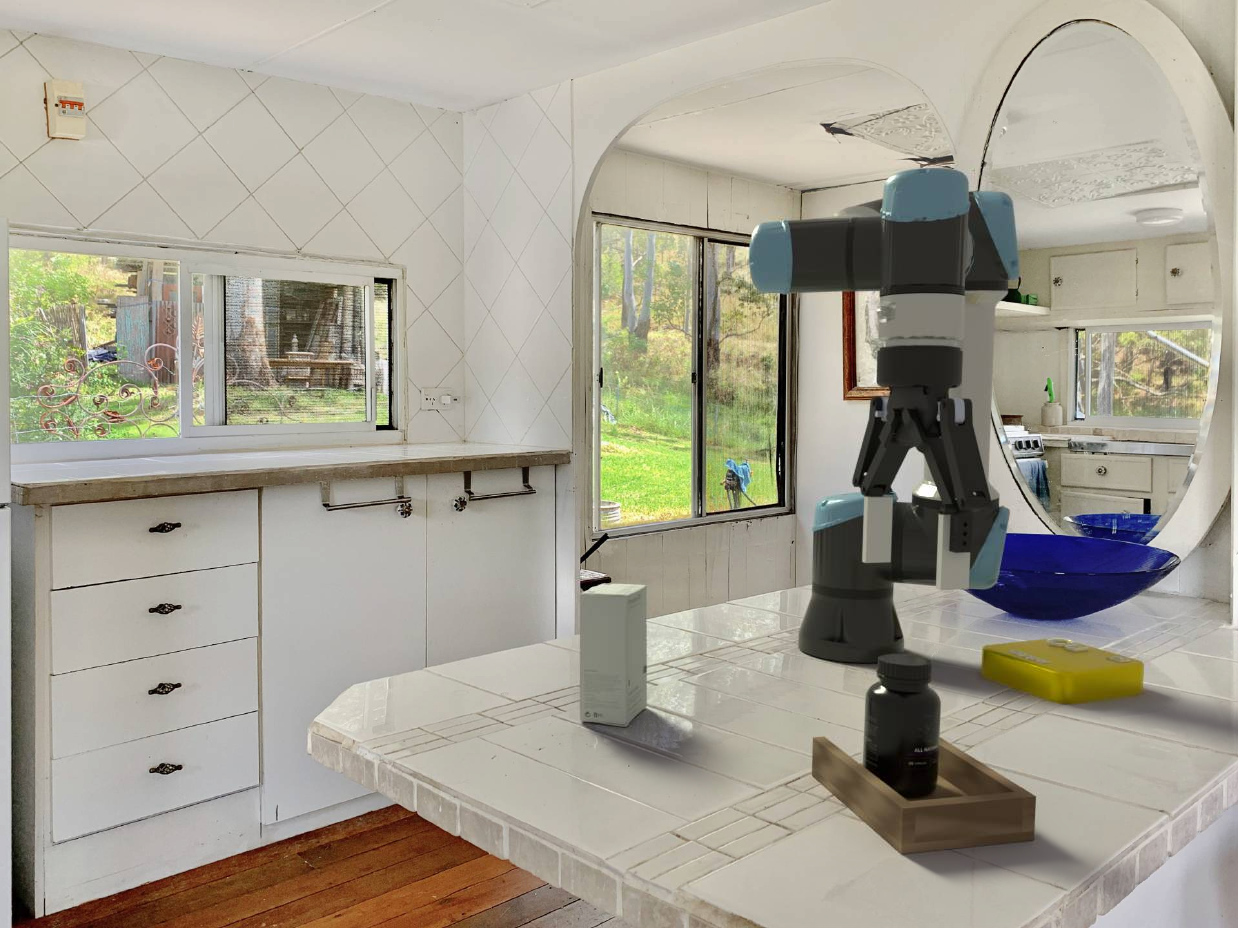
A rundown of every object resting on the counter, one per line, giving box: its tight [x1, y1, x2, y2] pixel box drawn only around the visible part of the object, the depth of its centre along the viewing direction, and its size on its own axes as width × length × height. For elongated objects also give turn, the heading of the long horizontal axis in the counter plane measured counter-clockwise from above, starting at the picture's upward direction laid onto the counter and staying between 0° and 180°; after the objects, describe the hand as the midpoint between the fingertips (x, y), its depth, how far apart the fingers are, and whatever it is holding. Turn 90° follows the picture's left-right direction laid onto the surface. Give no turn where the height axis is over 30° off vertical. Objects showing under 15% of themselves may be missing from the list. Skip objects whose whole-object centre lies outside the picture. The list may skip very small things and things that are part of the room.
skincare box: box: [579, 582, 648, 728], centre depth 116 cm, size 8×6×15 cm
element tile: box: [980, 637, 1145, 705], centre depth 132 cm, size 15×15×5 cm
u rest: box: [811, 736, 1037, 855], centre depth 91 cm, size 17×12×4 cm
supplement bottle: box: [862, 653, 942, 797], centre depth 94 cm, size 7×7×12 cm
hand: (911, 574), depth 93 cm, fingers open, 13 cm apart
